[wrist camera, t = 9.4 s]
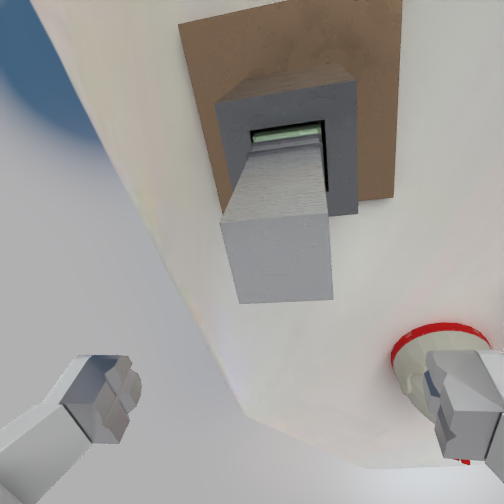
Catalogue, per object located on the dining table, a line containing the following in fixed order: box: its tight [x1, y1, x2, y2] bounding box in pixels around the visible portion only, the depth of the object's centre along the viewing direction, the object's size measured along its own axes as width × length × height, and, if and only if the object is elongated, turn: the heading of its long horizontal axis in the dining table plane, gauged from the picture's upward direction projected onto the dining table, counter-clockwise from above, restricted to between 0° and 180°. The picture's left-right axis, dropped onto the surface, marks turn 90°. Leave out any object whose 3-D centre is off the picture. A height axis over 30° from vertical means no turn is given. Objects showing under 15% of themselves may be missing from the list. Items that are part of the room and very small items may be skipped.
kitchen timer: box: [391, 323, 493, 465], centre depth 47 cm, size 14×14×15 cm
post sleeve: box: [178, 0, 403, 217], centre depth 30 cm, size 20×20×16 cm
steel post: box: [220, 121, 333, 304], centre depth 22 cm, size 4×4×20 cm
